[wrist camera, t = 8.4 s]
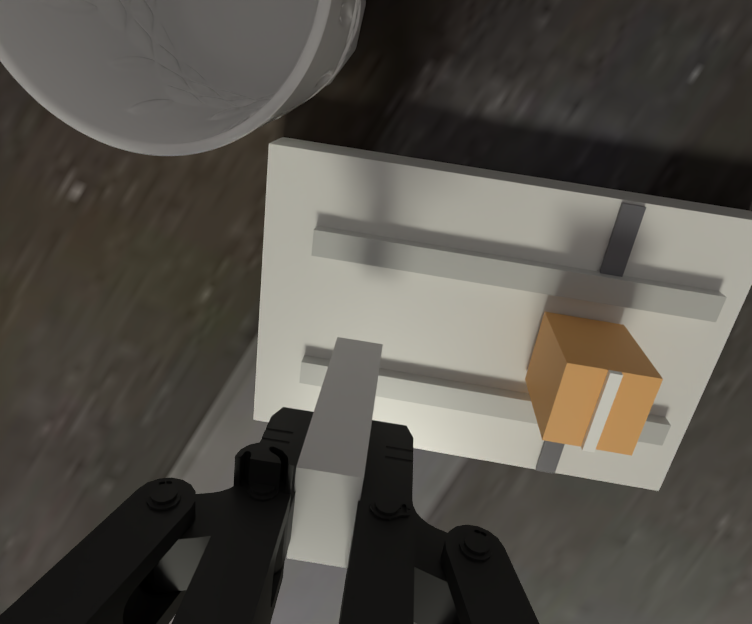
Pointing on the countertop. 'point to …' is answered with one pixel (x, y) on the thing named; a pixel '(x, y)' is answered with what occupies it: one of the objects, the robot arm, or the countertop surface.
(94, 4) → the white cup
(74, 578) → the robot arm
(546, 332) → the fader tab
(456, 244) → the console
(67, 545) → the countertop surface
